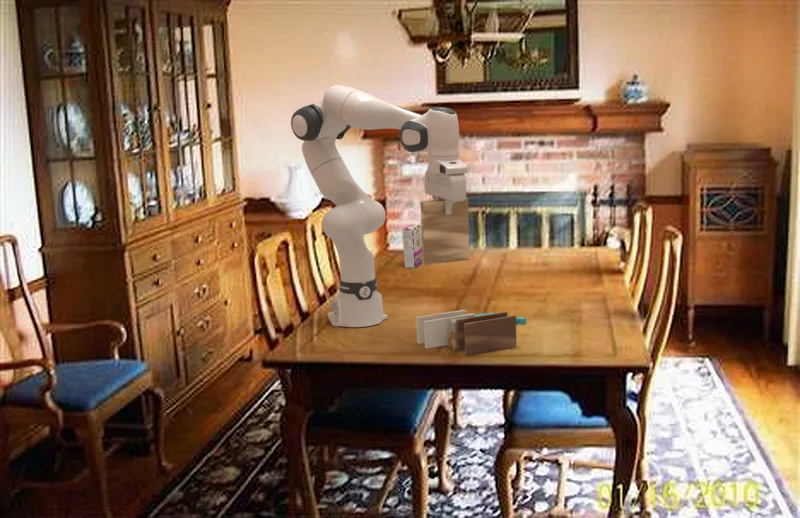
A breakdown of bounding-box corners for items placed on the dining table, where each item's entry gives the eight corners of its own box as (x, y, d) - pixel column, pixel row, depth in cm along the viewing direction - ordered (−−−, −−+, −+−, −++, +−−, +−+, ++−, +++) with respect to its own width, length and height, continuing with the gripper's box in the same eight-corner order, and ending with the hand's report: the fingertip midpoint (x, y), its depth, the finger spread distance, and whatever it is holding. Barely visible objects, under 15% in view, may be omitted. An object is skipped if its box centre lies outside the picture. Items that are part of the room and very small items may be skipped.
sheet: (422, 263, 264) (420, 201, 260) (465, 258, 269) (464, 197, 266) (425, 265, 262) (424, 202, 258) (469, 259, 267) (468, 198, 264)
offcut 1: (449, 329, 266) (449, 319, 265) (466, 327, 267) (466, 317, 266) (453, 332, 262) (453, 322, 261) (470, 331, 263) (470, 320, 263)
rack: (457, 350, 262) (456, 319, 260) (506, 341, 268) (505, 311, 266) (466, 355, 257) (465, 324, 255) (516, 346, 263) (515, 316, 261)
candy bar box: (411, 262, 389) (409, 224, 385) (422, 262, 387) (421, 224, 384) (403, 268, 378) (401, 228, 375) (415, 268, 377) (413, 228, 373)
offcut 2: (448, 346, 266) (448, 330, 265) (467, 343, 268) (466, 327, 267) (454, 350, 263) (454, 333, 262) (473, 347, 265) (472, 330, 264)
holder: (417, 343, 271) (416, 317, 269) (465, 335, 277) (464, 309, 275) (426, 348, 265) (425, 321, 263) (475, 340, 271) (474, 314, 269)
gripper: (418, 162, 268) (419, 209, 271) (449, 169, 250) (450, 219, 253) (438, 161, 271) (439, 207, 273) (470, 167, 252) (470, 217, 255)
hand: (444, 213), depth 263 cm, fingers closed on sheet, 2 cm apart
